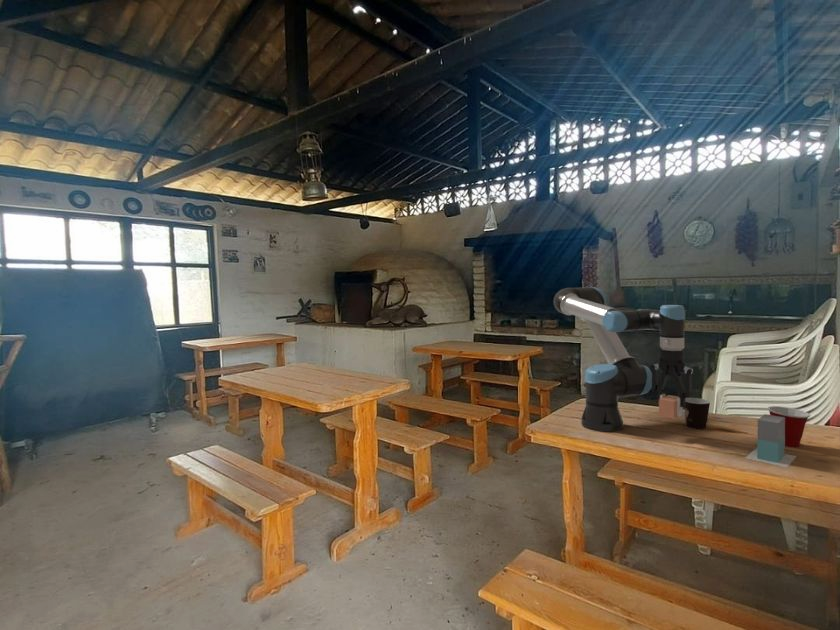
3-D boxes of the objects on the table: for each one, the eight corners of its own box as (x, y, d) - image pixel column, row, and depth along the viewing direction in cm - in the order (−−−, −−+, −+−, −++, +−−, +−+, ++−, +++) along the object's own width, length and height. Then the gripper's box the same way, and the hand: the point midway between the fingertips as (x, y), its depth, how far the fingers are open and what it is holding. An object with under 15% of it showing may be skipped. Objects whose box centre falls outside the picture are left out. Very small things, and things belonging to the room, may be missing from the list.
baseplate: (745, 459, 135) (745, 457, 135) (756, 449, 142) (756, 447, 142) (786, 469, 127) (786, 467, 127) (796, 458, 135) (796, 456, 134)
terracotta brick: (658, 415, 156) (658, 398, 155) (668, 411, 161) (668, 394, 160) (673, 418, 152) (674, 401, 151) (683, 414, 157) (683, 397, 156)
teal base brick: (757, 458, 134) (757, 439, 134) (764, 451, 139) (764, 432, 139) (778, 463, 130) (778, 443, 130) (784, 455, 135) (784, 436, 135)
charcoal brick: (757, 439, 134) (757, 419, 133) (764, 432, 139) (764, 414, 138) (778, 443, 130) (778, 423, 129) (784, 436, 135) (785, 417, 134)
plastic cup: (811, 454, 137) (812, 416, 136) (767, 447, 144) (767, 411, 143) (809, 444, 145) (809, 408, 145) (767, 438, 152) (767, 404, 152)
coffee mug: (710, 431, 161) (710, 404, 160) (682, 428, 165) (682, 402, 165) (709, 423, 171) (709, 397, 170) (683, 420, 175) (683, 395, 175)
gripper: (640, 347, 159) (640, 410, 161) (696, 353, 145) (695, 421, 147) (649, 345, 164) (649, 406, 166) (704, 350, 150) (703, 417, 152)
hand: (670, 413), depth 156 cm, fingers closed on terracotta brick, 5 cm apart
